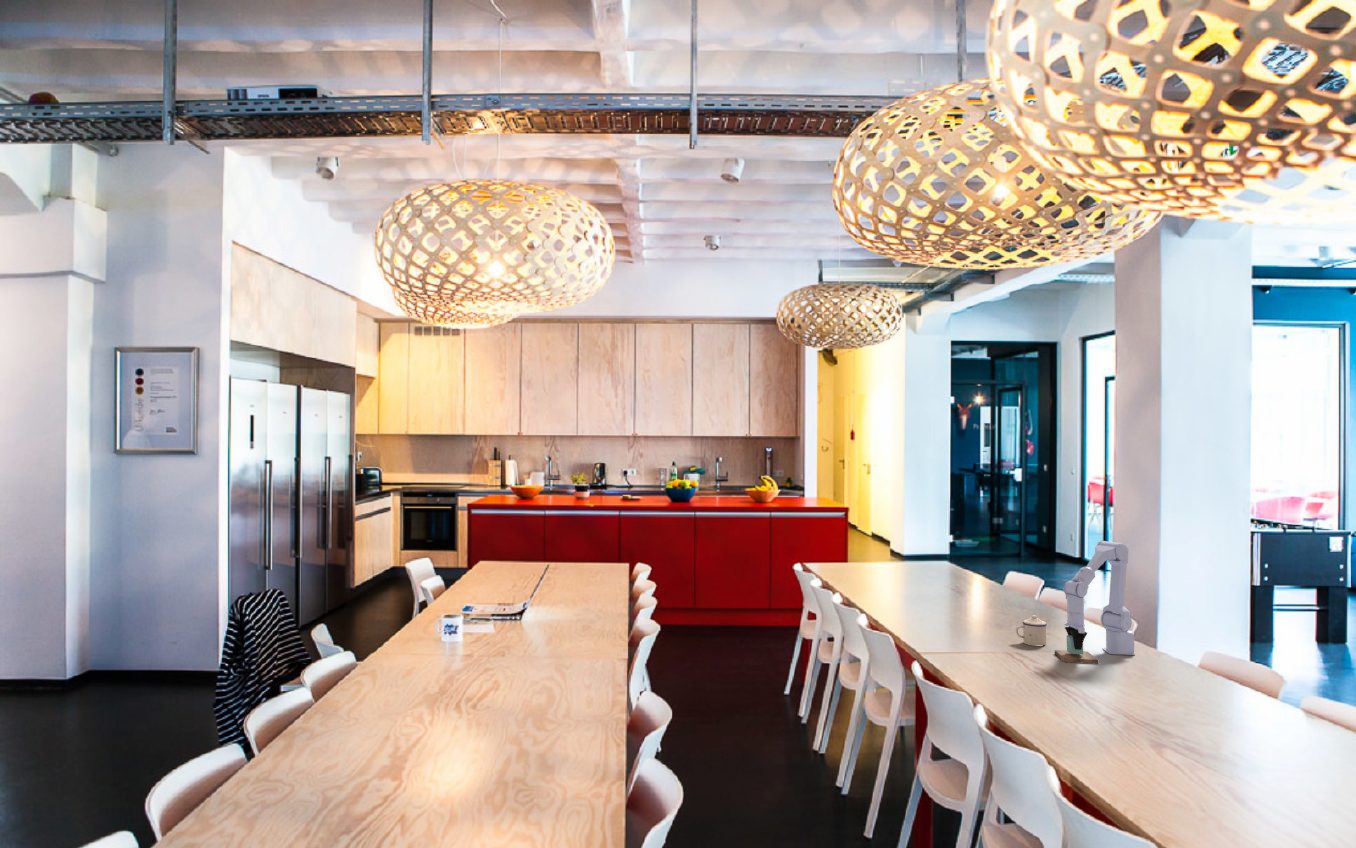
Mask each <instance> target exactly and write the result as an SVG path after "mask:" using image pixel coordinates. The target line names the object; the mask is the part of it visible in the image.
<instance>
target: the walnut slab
mask: <svg viewBox="0 0 1356 848" xmlns="http://www.w3.org/2000/svg"><path fill="white" fill-rule="evenodd" d="M1054 654H1055V656H1057V657H1058V656H1059V657H1060V658H1061V659H1062V660H1063V661H1062V660H1061V659H1060V658H1059V657H1058V658H1059V659H1060V660H1061V661H1062V662H1063V663H1071V662H1083V663H1082V664H1093V663H1095V664H1099V659H1098V658H1097V657H1095V656H1094V655H1093V654H1091V653H1090V652H1089V651H1086V650H1085V651H1084V650H1083V654H1070V653H1069V652H1068V651H1067V650H1062V649H1061V650H1060V649H1054Z"/></svg>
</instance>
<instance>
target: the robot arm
mask: <svg viewBox="0 0 1356 848" xmlns="http://www.w3.org/2000/svg"><path fill="white" fill-rule="evenodd" d="M1128 560H1129V548H1128V546H1127V545H1126V544H1125V543H1123V542H1115V541H1106V540H1099V541H1098V542H1097V544H1096V545H1095V547H1094V554H1093V556H1091V559H1090V560H1089V561H1088V563H1087V565H1086V566H1083V567H1080V568H1079V570H1078V571H1077V573H1075V575H1074V576H1073V577H1072V579H1071V580H1067V581H1066V582H1065V584H1064V586H1063V588H1062V589H1063V593H1064V594H1065V600H1066V604H1067V605H1066V607H1067V608H1066V610H1067V612H1066V613H1067V618H1066V619H1067V620H1066V622H1064V623H1063V625H1064V626H1065V627H1064V629H1065V631H1066V635H1072V637H1073V641H1074V647H1075V649H1076V650H1081V649H1082V645H1083V646H1084V641H1085V638H1086V637H1087V635H1088V632H1086V631H1085V630H1086V629H1085V606H1084V603H1085V602H1084V600H1085V599H1084V598H1085V596H1087V594H1088V590H1089V585H1090V584H1091V583H1092V582H1093V580H1094V579H1095V578H1096V573H1095V572H1096V571H1097V570H1098V569H1100V567H1101V566H1102V565H1103V564H1104V563H1105V562H1106V561H1107V562H1108V563H1109V564H1110V565H1111V568H1110V580H1109V581H1110V582H1109V583H1110V584H1109V595H1108V604H1107V605H1105V606H1103V608H1102V612H1101V615H1100V622H1101V625H1102V626H1103V628H1104V629H1105V647H1102V648H1101V649H1102V650H1103V651H1105V652H1106V653H1107V654H1108V655H1122V656H1123V655H1126V656H1127V655H1128V656H1135V655H1136V653H1135V637H1134V633H1133V631H1132V630H1130V629H1131V627H1132V624H1133V622H1132V618H1131V611H1129V609H1128V608H1127V607H1126V606H1125V599H1126V582H1127V567H1128V566H1127V565H1128Z"/></svg>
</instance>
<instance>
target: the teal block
mask: <svg viewBox="0 0 1356 848" xmlns="http://www.w3.org/2000/svg"><path fill="white" fill-rule="evenodd" d="M1066 651H1068V652H1069V653H1070V654H1083V651H1084V644H1083V645H1082V649H1081V650H1076V649H1075V647H1074V641H1073V637H1072V635H1068V634H1066Z"/></svg>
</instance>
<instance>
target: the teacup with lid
mask: <svg viewBox="0 0 1356 848" xmlns="http://www.w3.org/2000/svg"><path fill="white" fill-rule="evenodd" d="M1021 628H1022V629H1023V630H1022V631H1023V632H1022V633H1023V635H1020V633H1019V629H1021ZM1015 634H1016V635H1017V637H1019V638H1021V639H1023V644H1025V645H1027V644H1028V645H1027V646H1030V645H1045V646H1046V645H1047V622H1046V621H1044V620H1041V619H1040V618H1038V616H1037V615H1034V614H1033V615H1031V617H1029V618H1028V619H1024V620H1023V621H1022V625H1018V626H1017V627H1016V628H1015Z"/></svg>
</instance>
